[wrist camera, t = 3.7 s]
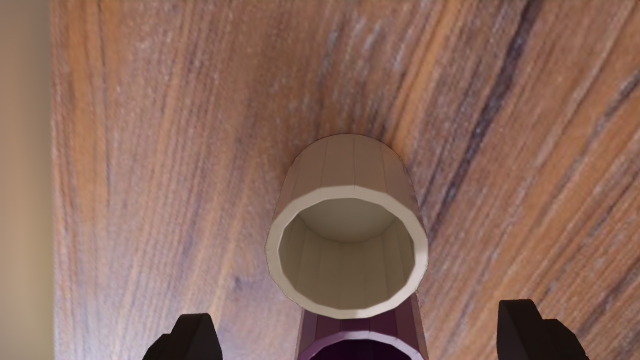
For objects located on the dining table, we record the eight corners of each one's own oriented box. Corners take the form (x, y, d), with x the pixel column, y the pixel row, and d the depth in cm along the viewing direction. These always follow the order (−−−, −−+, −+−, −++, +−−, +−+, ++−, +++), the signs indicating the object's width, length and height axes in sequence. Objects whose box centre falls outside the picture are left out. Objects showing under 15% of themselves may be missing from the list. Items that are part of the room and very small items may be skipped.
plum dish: (312, 342, 24) (303, 427, 20) (297, 258, 22) (282, 333, 17) (417, 338, 23) (432, 425, 19) (413, 250, 21) (430, 327, 16)
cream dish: (295, 248, 21) (280, 322, 17) (275, 139, 19) (251, 193, 14) (413, 240, 21) (430, 315, 16) (408, 127, 18) (426, 178, 14)
